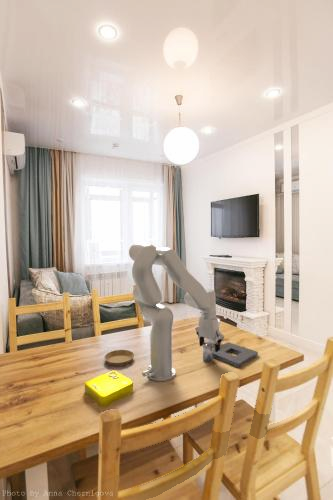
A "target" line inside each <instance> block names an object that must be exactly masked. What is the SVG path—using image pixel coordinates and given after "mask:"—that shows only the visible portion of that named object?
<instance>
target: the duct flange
mask: <svg viewBox="0 0 333 500" xmlns="http://www.w3.org/2000/svg"><path fill="white" fill-rule="evenodd" d="M231 353H233V354H231ZM234 354H236V355H234ZM258 355H259V351H255V350H253V349H250V348H247V347H244V346H241V345H238V344H235V343H233V342H229V341H227V342H225V343H224V344H220V350H219V351H217V352H215V348H213V359H216V360H218V361H221V362H224V363H226V364H229V365H231V366H234V367H235V368H241V367H243V366H245V365H246V364H247V363H248V362H251V361H252V360H254V359H255V358H257V357H258Z"/></svg>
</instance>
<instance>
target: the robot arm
mask: <svg viewBox="0 0 333 500" xmlns="http://www.w3.org/2000/svg"><path fill="white" fill-rule="evenodd" d="M128 256H129V259H131V260H132V261H133V264H132V269H131V276H132V279H133V282H134V287H133V289H132V295H133V298H134V300H135V303H136V305H137V307H138V308H139V309H138V310H139V311H140V313H141V316H143V318H144V319H145V320H147V321H148V322H150V323H151V324H152V326H151V331H150V337H149V338H150V339H149V340H150V341H149V342H150V343H149V344H150V365H149V366H148V369H147V370H145V371H143V372H142V373H141V374H142V377H148V378H149V379H150V380H152V381H155V382H167V381H170V380H172V379H173V378H174V377H175V376H176V369H174V368H173V358H172V357H173V355H172V354H173V353H172V352H173V351H172V349H173V345H172V344H173V343H172V341H173V339H172V333H173V331H172V329H173V325H174V324H173V323H174V313H173V311H172V309H171V308H170V307H169V306H167V305H165V304H163V303H161V301H162V292H161V288H160V287H159V285H158V283H157V280H156V278H155V275H154V273H153V265H156V266H161V267H162V268H163V269H164V271H166V274H167V276H169V278H170V280H171V281H172V282H173V283H174V284H175V285H176V286H177V287H178V288H180V289H182V290H184V291H185V295H184V296H183V301H184V303H185V305H187V306H188V307H190V308H194V309H197V310H199V313H200V316H199V318H198V327H197V326H196V327H195V328H194V329H195V332H196V335H197V339H199V343H198V344H199V347H203V343H205V339H206V338H207V339H210V340H214V341H215V344H214V349H215V352H217V351H219V350H220V346H221V343H222V342H223V341H224V339H225V335H224V334H223V333H222V332H220V325H218V320H217V318H218V317H217V304H216V303H217V301H216V300H217V299H216V291H215V290H214V289H210V288H209V289H207V288H206V289H205V288H204V286H203V284H202V283H200V282H199V281H198V280H197V279H196V278H195V277H194V276H193V275H192V274H191V273H190V272H189V271H188V268H187V267H186V266H185V264H184V263H183V261H182V259H181V258H180V256H179V254H178V253H177V252H176V251H175V250H174V249H173V248H171V247H160V246H154V245H153V244H151V243H148V242H147V243H146V242H143V243H141V242H136V243H134V244H132V245H131V246H130V247H129V249H128ZM216 338H217V339H216Z"/></svg>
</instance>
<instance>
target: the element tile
mask: <svg viewBox="0 0 333 500" xmlns="http://www.w3.org/2000/svg"><path fill="white" fill-rule="evenodd" d="M133 393H134V382H133V380H131V379H130V378H129V377H127V376H126V375H124V374H122V373H121V372H119V371H118V370H116V369H113V370H111V371H108V372H106V373H103V374H100V375H98V376H95V377H94V378H91V379H89V380H87V381H84V394H85V395H86V396H87V397H88V396H89V397H90V398H89V397H88V398H89V399H91V400H92V402H94V403H95V404H96V405H97V406H99V407H100V408H107V407H108V405H109V406H110V405H113V404H115V403H116V402H118V401H120V400H122V399H124V398H126V397H128V396H130V395H132V394H133Z"/></svg>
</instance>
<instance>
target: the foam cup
mask: <svg viewBox="0 0 333 500" xmlns="http://www.w3.org/2000/svg"><path fill="white" fill-rule="evenodd" d="M216 318H217V320H218V325H219V326H221V319H220V318H218V317H216ZM216 339H217V338H216ZM205 340H206V342H210V343H213V344H214V345H215V344H216V343H215V341H214V340H210V339H207V338H205Z"/></svg>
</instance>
